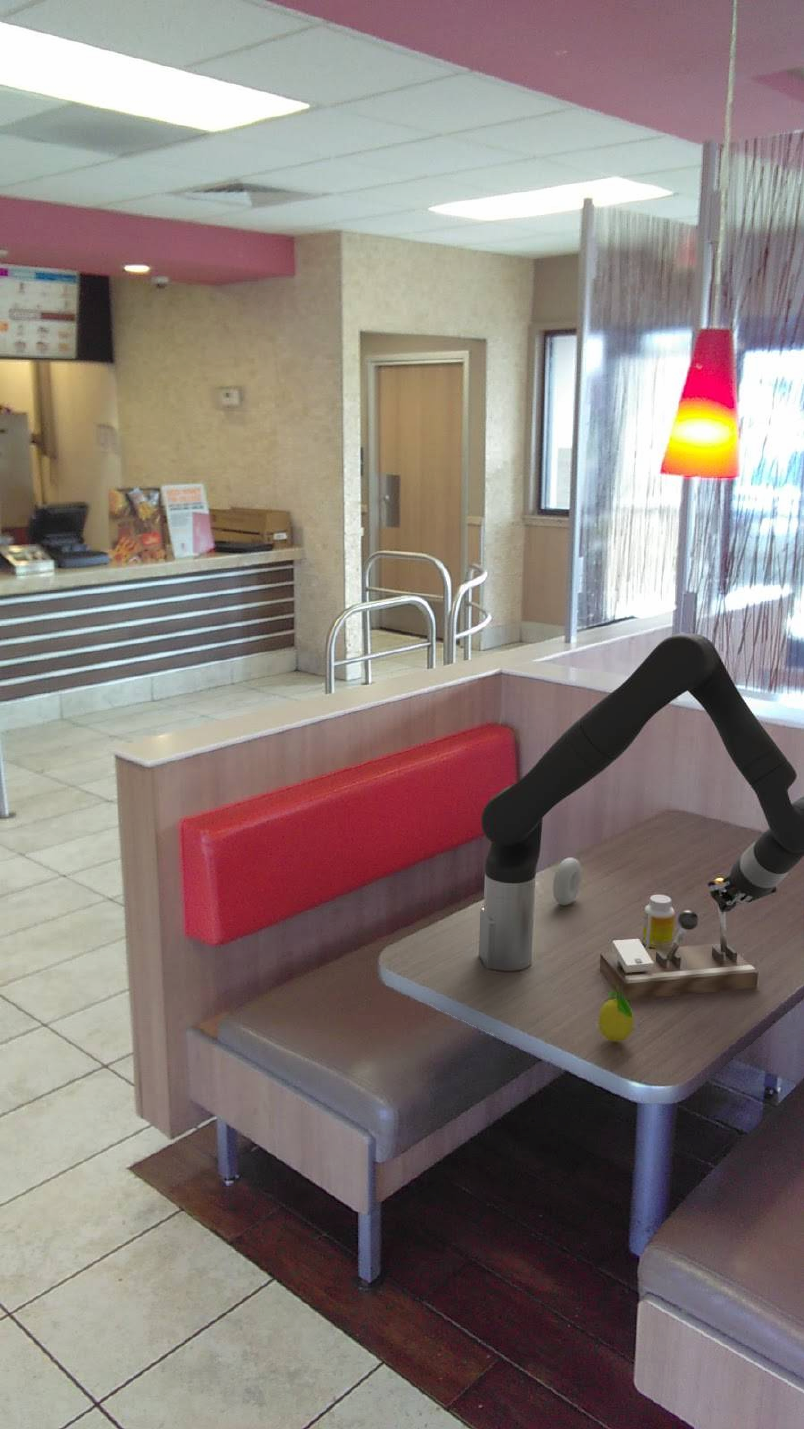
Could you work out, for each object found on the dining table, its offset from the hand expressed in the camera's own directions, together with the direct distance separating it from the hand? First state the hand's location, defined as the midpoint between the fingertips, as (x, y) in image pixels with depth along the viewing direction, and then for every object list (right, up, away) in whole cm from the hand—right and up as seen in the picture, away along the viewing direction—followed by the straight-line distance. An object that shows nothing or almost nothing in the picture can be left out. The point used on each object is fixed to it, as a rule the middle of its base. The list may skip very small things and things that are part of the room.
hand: (723, 906), depth 204 cm
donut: (-24, -5, +31) cm, 40 cm away
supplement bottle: (-9, -10, +11) cm, 18 cm away
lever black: (-10, -9, -2) cm, 14 cm away
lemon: (-24, -18, -22) cm, 37 cm away
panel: (-8, -13, 0) cm, 15 cm away
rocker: (-17, -8, -3) cm, 19 cm away
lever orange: (0, -9, +1) cm, 9 cm away
